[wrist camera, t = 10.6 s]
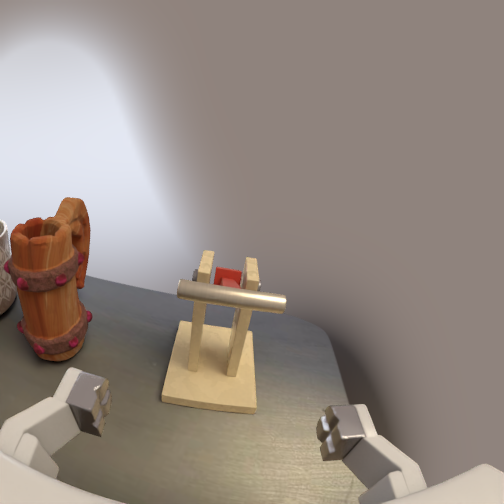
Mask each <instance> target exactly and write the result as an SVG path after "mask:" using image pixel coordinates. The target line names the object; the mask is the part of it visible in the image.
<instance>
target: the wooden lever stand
mask: <svg viewBox="0 0 504 504" xmlns="http://www.w3.org/2000/svg"><path fill="white" fill-rule="evenodd" d="M213 257H214V252H213V251H206V250H204V252H203V255H202V259H201V262H200V266H199V270H197V269H195V270H194V273H193V278H192V281H195V282H201V283H207V284H210V277H211V271H212V264H213ZM240 288H241V289H245V290H252V291H259V292H260V288H261V280H259V275H258V267H257V259H255V258H249V257H246V261H245V266H244V270H243V275H242V280H241V285H240ZM206 305H207V303H203V302H197V301H194V309H193V318H192V322H186V321H180V324H179V328H178V332H177V335H176V339H175V343H174V347H173V351H172V355H171V359H170V362H169V366H168V371H167V375H166V379H165V383H164V387H163V391H162V402H166V403H171V404H177V405H182V406H189V407H195V408H202V409H209V410H217V411H225V412H235V413H246V414H255V411H256V408H257V403H256V387H255V372H254V355H253V339H252V331H248V326H249V322H250V318H251V314H252V310H249V309H242V308H236V309H235V314H234V319H233V324H232V329H230V328H224V327H217V326H210V325H204V319H205V312H206Z"/></svg>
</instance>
